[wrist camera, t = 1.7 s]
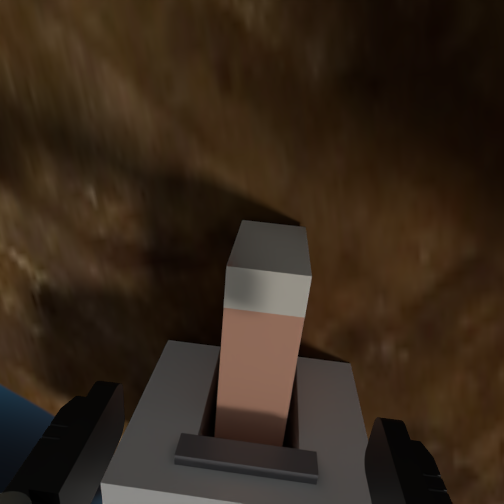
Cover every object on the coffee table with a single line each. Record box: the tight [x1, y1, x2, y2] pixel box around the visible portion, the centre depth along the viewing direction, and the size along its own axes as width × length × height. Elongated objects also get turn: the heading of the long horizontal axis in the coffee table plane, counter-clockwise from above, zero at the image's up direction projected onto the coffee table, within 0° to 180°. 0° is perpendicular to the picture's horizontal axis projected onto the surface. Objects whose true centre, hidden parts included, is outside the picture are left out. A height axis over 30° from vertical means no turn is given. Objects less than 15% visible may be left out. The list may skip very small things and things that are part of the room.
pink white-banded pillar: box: [215, 220, 312, 447], centre depth 22 cm, size 4×16×6 cm, turn 175°
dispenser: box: [101, 340, 372, 504], centre depth 22 cm, size 12×10×10 cm
